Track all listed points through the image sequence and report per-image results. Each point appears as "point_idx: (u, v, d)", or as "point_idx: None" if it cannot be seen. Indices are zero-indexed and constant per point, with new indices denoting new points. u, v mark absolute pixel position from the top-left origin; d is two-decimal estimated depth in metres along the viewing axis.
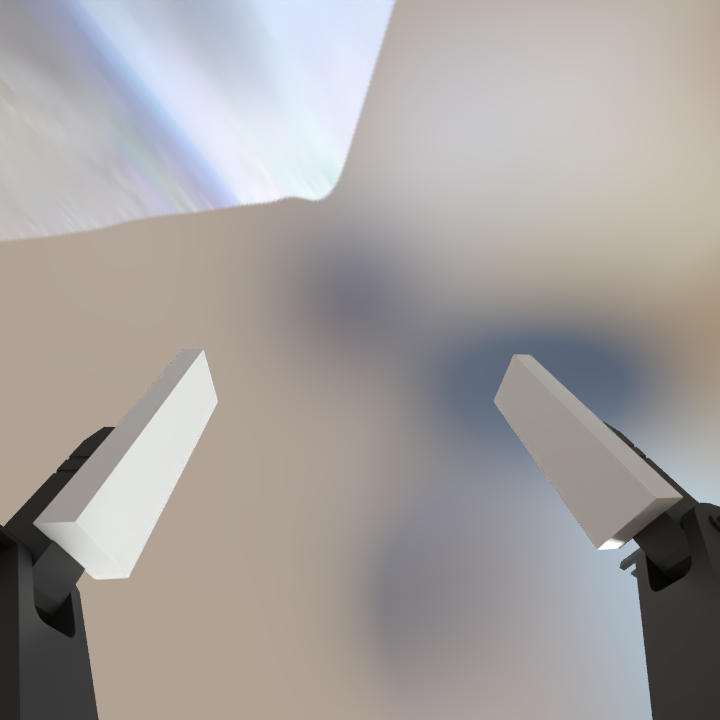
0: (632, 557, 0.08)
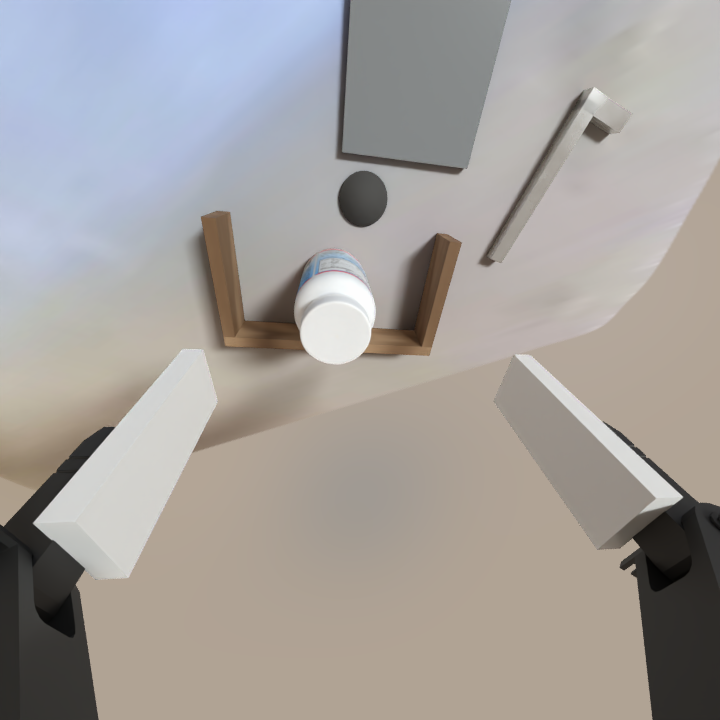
0: (632, 557, 0.08)
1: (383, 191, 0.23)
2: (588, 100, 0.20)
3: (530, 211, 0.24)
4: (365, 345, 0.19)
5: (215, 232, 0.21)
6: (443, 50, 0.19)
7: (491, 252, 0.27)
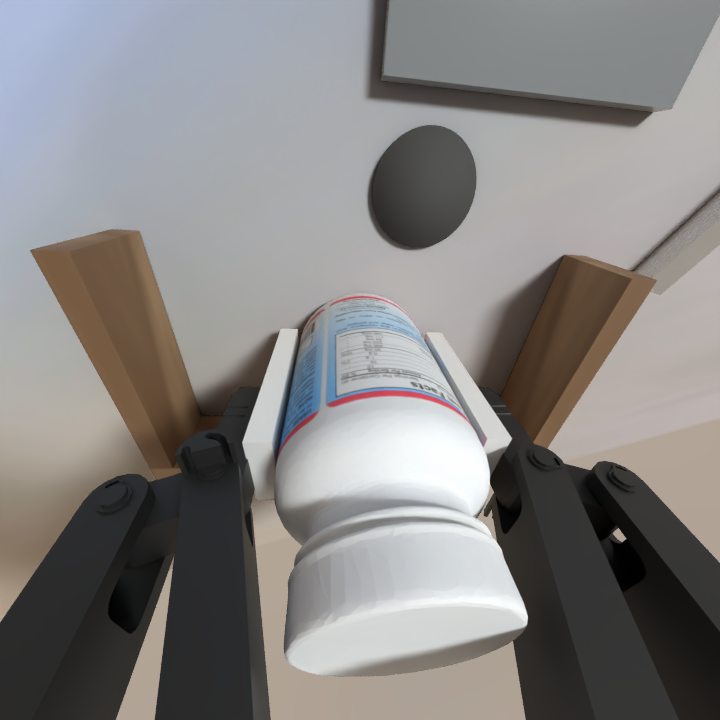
0: (489, 504, 0.09)
1: (469, 172, 0.11)
2: None
3: None
4: (497, 648, 0.06)
5: (80, 286, 0.09)
6: None
7: (647, 269, 0.13)
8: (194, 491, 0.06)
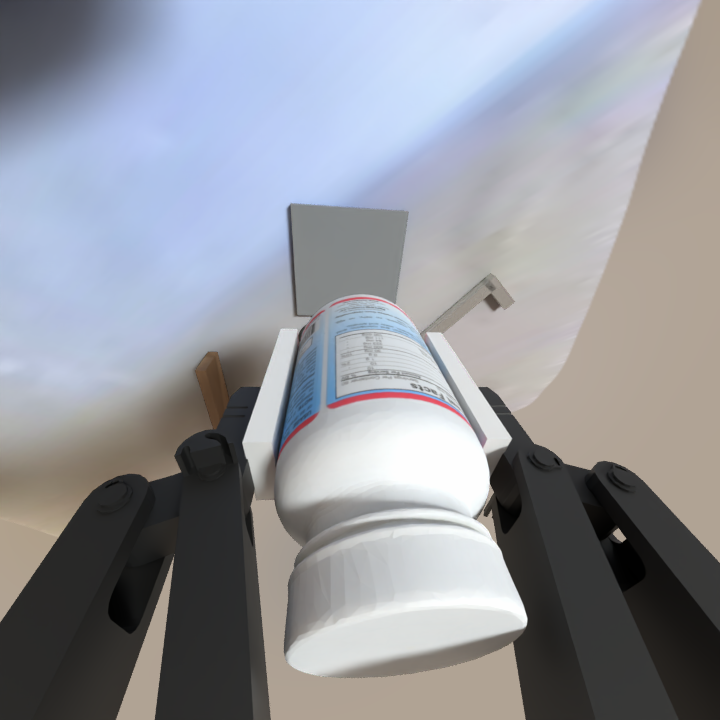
0: (489, 504, 0.09)
1: None
2: (490, 282, 0.28)
3: None
4: (496, 650, 0.06)
5: (206, 378, 0.29)
6: (362, 256, 0.26)
7: None
8: (194, 491, 0.06)
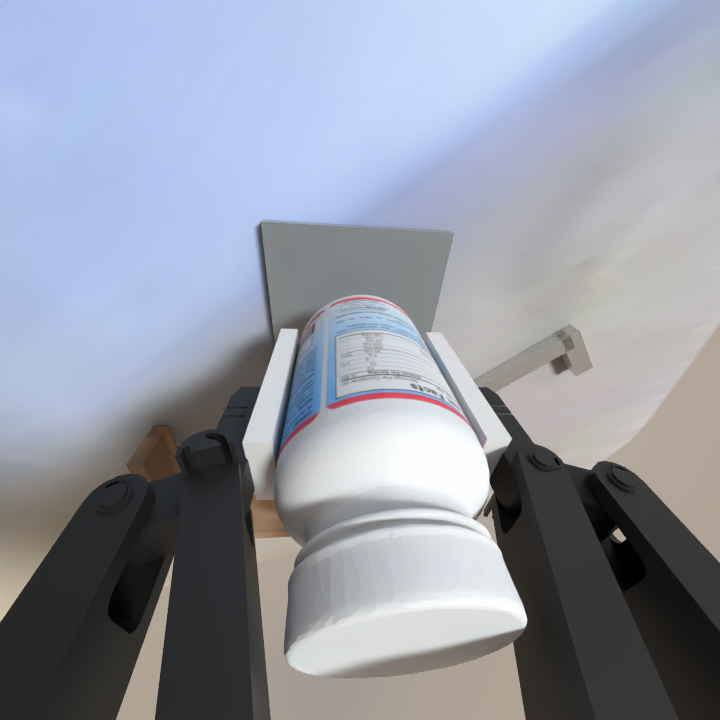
0: (489, 504, 0.09)
1: None
2: (570, 338, 0.19)
3: None
4: (496, 650, 0.06)
5: (145, 474, 0.19)
6: None
7: None
8: (194, 491, 0.06)
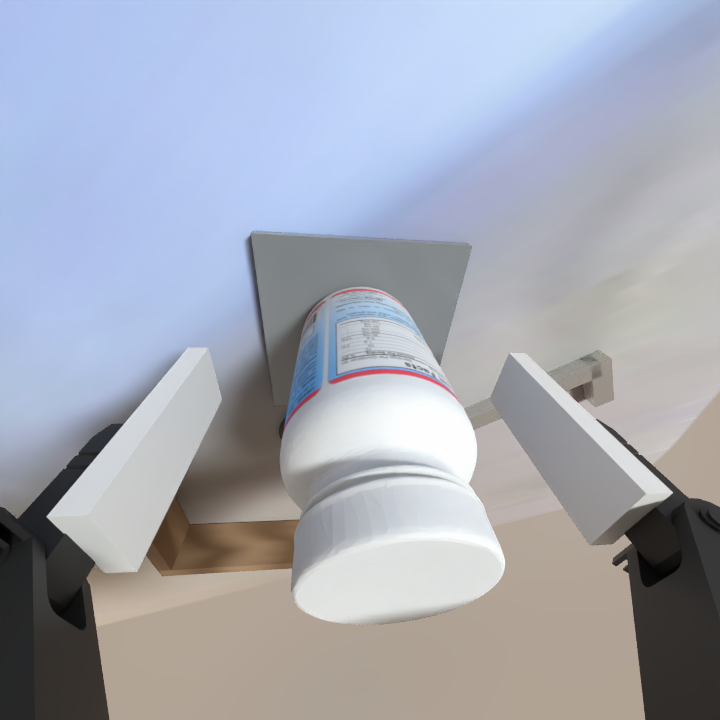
0: (624, 553, 0.08)
1: None
2: (600, 365, 0.17)
3: (488, 421, 0.19)
4: (480, 595, 0.07)
5: None
6: None
7: None
8: None
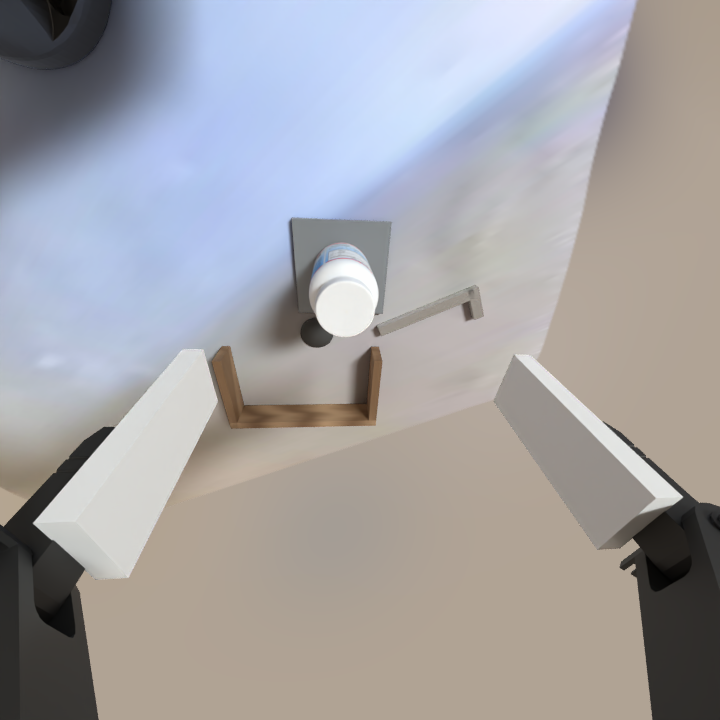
0: (632, 557, 0.08)
1: None
2: (473, 291, 0.33)
3: (415, 320, 0.34)
4: (370, 318, 0.22)
5: (221, 368, 0.33)
6: None
7: (381, 325, 0.35)
8: None
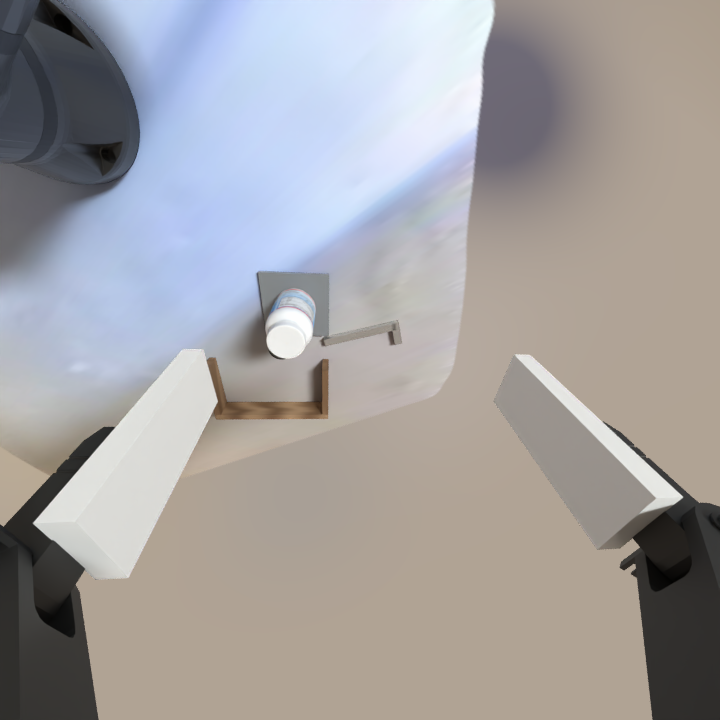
0: (632, 557, 0.08)
1: None
2: (394, 324, 0.46)
3: (351, 338, 0.46)
4: (302, 347, 0.34)
5: None
6: None
7: (326, 337, 0.47)
8: None
